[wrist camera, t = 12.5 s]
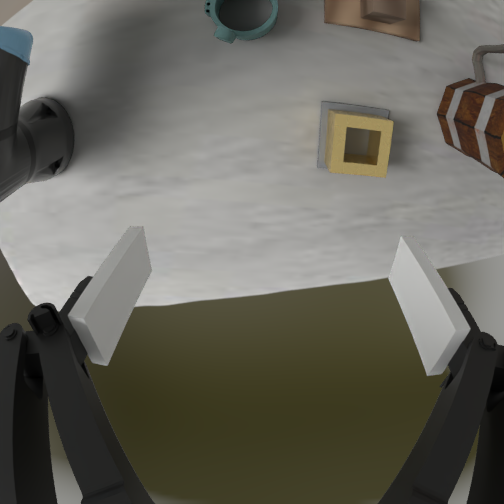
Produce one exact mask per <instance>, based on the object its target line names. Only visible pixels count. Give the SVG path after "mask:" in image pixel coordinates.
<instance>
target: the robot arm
mask: <svg viewBox="0 0 504 504" xmlns="http://www.w3.org/2000/svg"><path fill="white" fill-rule="evenodd" d="M32 44H33V36H32V34H31V33H30V32H29V31H27V30H23V29H18V28H12V27H4V26H0V202H1V201H3V200H4V199H5V198H7V197H8V196H9V195H11V194H12V193H13V192H15V191H16V190H17V189H19V188H20V187H22V186H23V185H25V184H26V183H32V182H39V181H45V180H48V179H51V178H52V177H54V176H56V175H57V174H59V173H60V172H61V171H62V170H63V169H64V168H65V167H66V166H67V164H68V162H69V160H70V158H71V155H72V152H73V145H74V134H73V128H72V124H71V121H70V118H69V116H68V114H67V113H66V111H65V110H64V108H63V107H62V106H61V105H60V104H59V103H57V102H56V101H54V100H52V99H49V98H39V99H35V100H32V101H29V102H27V103H25V104H24V105H22V106H21V107H20V104H21V98H22V92H23V86H24V81H25V76H26V71H27V67H28V65H29V64H30V60H29V58H30V53H31V49H32ZM151 272H152V268H151V264H150V259H149V254H148V249H147V244H146V239H145V233H144V228H143V227H134V226H130V227H129V228H128V230H127V231H126V232H125V234H124V235H123V236H122V238H121V239H120V240H119V242H118V243H117V244H116V246H115V247H114V248H113V250H112V251H111V253H110V254H109V255H108V257H107V258H106V259H105V261H104V262H103V264H102V265H101V266H100V268H99V269H98V271H97V272H96V274H95V275H94V276H93V277H91V276H88V277H86V278H85V279H84V280H82V281H81V282H80V283H79V284H78V286H77V287H76V289H75V290H74V292H73V293H72V294H71V296H70V298H69V299H68V300H67V302H66V303H65V305H64V306H63V308H62V309H61V311H60V312H59V314H58V312H57V310H56V308H55V306H54V305H53V304H51V303H43V304H40V305H38V306H36V307H35V308H33V310H31V312H30V313H29V315H28V322H29V323H30V325H31V327H32V329H33V330H34V331H26V332H25V331H24V330H23V328H22V326H21V325H20V324H17V323H12V324H10V325H8V326H6V327H5V328H4V329H3V330H2V331H1V333H0V504H57V498H56V493H55V486H54V479H53V472H52V464H51V453H50V441H49V423H48V397H49V401H50V405H51V408H52V412H53V416H54V419H55V422H56V426H57V429H58V432H59V435H60V438H61V441H62V444H63V447H64V450H65V452H66V455H67V458H68V461H69V463H70V466H71V468H72V471H73V473H74V476H75V478H76V481H77V483H78V485H79V487H80V490H81V492H82V495H83V499H82V501H81V504H155V503H154V502H153V501H152V499H151V498H150V496H149V495H148V493H147V491H146V490H145V488H144V486H143V485H142V483H141V481H140V480H139V478H138V476H137V474H136V473H135V471H134V469H133V467H132V466H131V464H130V462H129V460H128V458H127V456H126V454H125V453H124V451H123V449H122V447H121V445H120V443H119V441H118V439H117V437H116V435H115V433H114V431H113V428H112V426H111V424H110V422H109V420H108V418H107V415H106V413H105V411H104V408H103V406H102V404H101V402H100V399H99V397H98V394H97V392H96V389H95V387H94V384H93V381H92V379H91V376H90V374H89V371H88V368H87V365H86V364H85V362H84V360H85V358H86V356H87V354H88V356H89V358H90V360H91V361H92V363H97V364H101V365H106V366H107V365H108V363H109V361H110V359H111V356H112V353H113V352H114V349H115V347H116V345H117V343H118V340H119V338H120V336H121V334H122V332H123V329H124V327H125V325H126V323H127V321H128V319H129V316H130V314H131V312H132V310H133V308H134V306H135V304H136V302H137V300H138V298H139V296H140V294H141V291H142V289H143V287H144V285H145V283H146V281H147V279H148V277H149V275H150V273H151ZM389 281H390V283H391V285H392V288H393V290H394V292H395V294H396V297H397V299H398V301H399V303H400V306H401V308H402V310H403V313H404V316H405V318H406V320H407V323H408V325H409V328H410V330H411V333H412V335H413V338H414V341H415V343H416V346H417V348H418V351H419V354H420V357H421V359H422V362H423V365H424V367H425V370H426V373H427V376H429V375H437V374H442V372H443V371H444V370H445V368H446V367H447V365H448V366H449V369H450V371H451V372H450V373H449V375H448V376H447V377H446V379H445V380H444V381H443V383H442V384H441V385H440V387H442V386H443V388H442V391H441V393H440V395H439V397H438V399H437V402H436V404H435V406H434V408H433V410H432V413H431V415H430V417H429V419H428V421H427V423H426V425H425V427H424V429H423V431H422V433H421V435H420V436H419V439H418V440H417V442H416V444H415V446H414V448H413V449H412V451H411V453H410V455H409V457H408V458H407V460H406V461H405V463H404V465H403V466H402V468H401V470H400V471H399V473H398V475H397V476H396V478H395V479H394V481H393V482H392V484H391V485H390V487H389V488H388V490H387V491H386V493H385V494H384V496H383V497H382V499H381V500H380V501H379V503H378V504H448V500H449V498H450V496H451V494H452V492H453V490H454V488H455V485H456V483H457V481H458V479H459V477H460V474H461V472H462V470H463V468H464V465H465V463H466V461H467V458H468V456H469V453H470V451H471V448H472V445H473V442H474V440H475V437H476V434H477V431H478V428H479V425H480V429H479V438H478V447H477V454H476V460H475V466H474V472H473V477H472V482H471V487H470V491H469V496H468V500H467V504H504V346H502V345H498V344H497V342H496V340H495V339H494V338H493V337H492V336H491V335H490V334H488V333H485V332H481V331H480V329H479V327H478V326H477V324H476V322H475V320H474V318H473V317H472V315H471V313H470V312H469V311H468V308H467V306H466V305H464V301H463V300H462V298H461V297H460V295H459V294H458V293H457V292H456V291H455V290H454V289H452V288H447V287H446V285H445V283H444V282H443V280H442V279H441V277H440V275H439V274H438V272H437V271H436V269H435V268H434V266H433V265H432V263H431V261H430V260H429V258H428V257H427V255H426V254H425V253H424V251H423V250H422V248H421V247H420V245H419V244H418V242H417V241H416V239H415V238H414V237H412V236H401V238H400V241H399V245H398V248H397V252H396V256H395V259H394V262H393V266H392V269H391V272H390V275H389Z"/></svg>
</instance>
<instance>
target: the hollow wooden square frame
mask: <svg viewBox="0 0 504 504" xmlns="http://www.w3.org/2000/svg"><path fill="white" fill-rule="evenodd" d="M393 123H394V121H391V120H389V119H387V118H385V117H383V116H379V115H373V114H366V113H358V112H350V111H342V110H332V109H328V121H327V134H326V147H325V159H324V162H325V164H326V166H327V168H328V170H329V171H330V173H343V174H354V175H365V176H375V177H384V178H386V173H387V166H388V160H389V153H390V146H391V139H392V131H393ZM347 127H352V128H360V129H368V130H370V131H369V140H368V148H367V156H366V155H357V154H347V153H344V149H345V139H346V128H347Z"/></svg>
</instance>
